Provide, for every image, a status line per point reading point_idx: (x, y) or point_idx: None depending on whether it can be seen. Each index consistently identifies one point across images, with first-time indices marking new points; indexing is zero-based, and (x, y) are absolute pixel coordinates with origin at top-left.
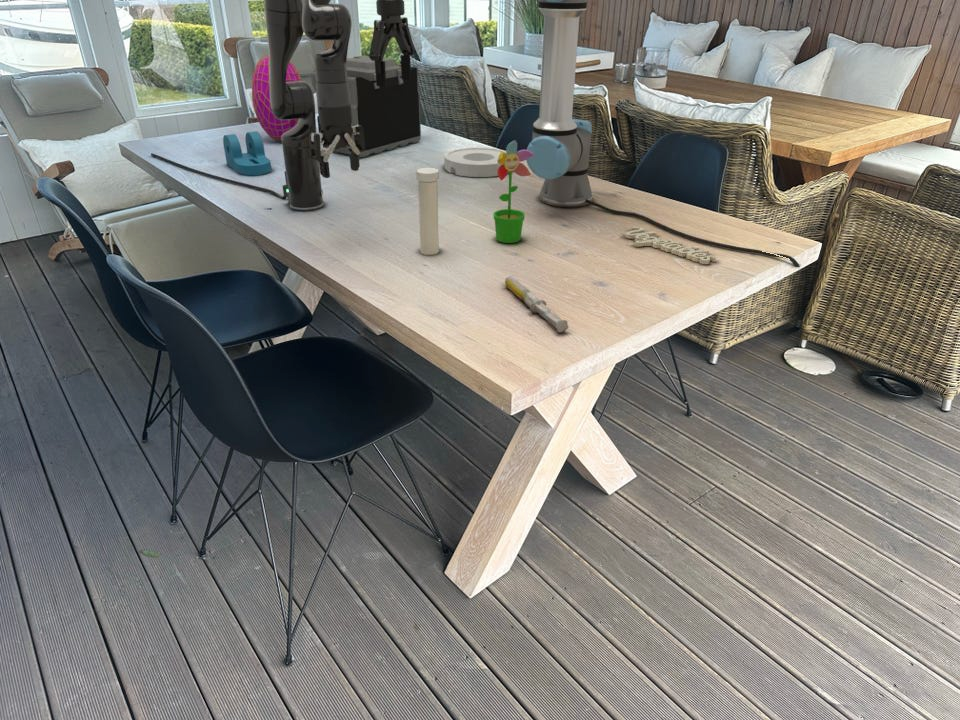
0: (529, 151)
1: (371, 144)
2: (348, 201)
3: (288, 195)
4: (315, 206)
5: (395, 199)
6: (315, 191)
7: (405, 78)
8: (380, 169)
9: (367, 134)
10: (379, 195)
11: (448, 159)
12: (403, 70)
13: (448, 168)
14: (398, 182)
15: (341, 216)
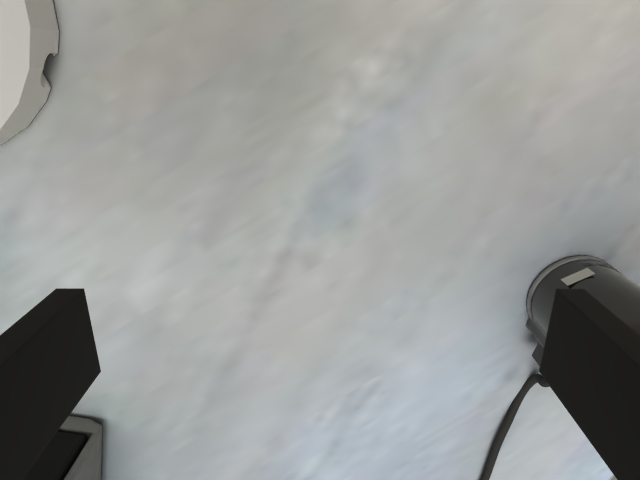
0: None
1: None
2: (494, 223)
3: None
4: (602, 262)
5: (422, 103)
6: (624, 278)
7: (85, 341)
8: (159, 316)
9: None
10: (404, 173)
11: (15, 101)
12: (47, 411)
13: (39, 97)
14: (252, 194)
15: (632, 162)
